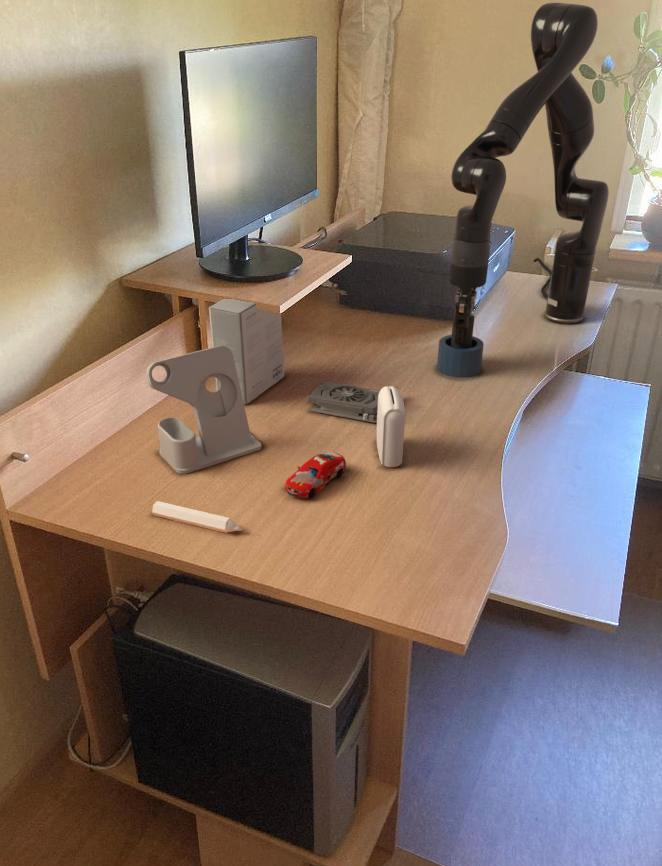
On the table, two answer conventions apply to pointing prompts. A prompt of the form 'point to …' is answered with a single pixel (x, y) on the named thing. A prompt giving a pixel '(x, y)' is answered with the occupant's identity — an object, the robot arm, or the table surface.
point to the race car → (315, 474)
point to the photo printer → (390, 426)
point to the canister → (468, 335)
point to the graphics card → (345, 401)
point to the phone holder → (203, 411)
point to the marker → (194, 517)
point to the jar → (459, 358)
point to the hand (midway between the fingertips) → (461, 338)
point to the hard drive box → (249, 344)
